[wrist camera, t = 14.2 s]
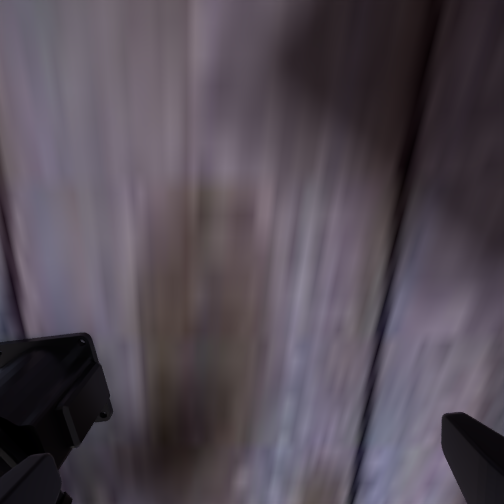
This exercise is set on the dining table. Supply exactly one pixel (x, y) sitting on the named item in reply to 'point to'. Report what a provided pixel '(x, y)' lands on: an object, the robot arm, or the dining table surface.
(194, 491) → the dining table surface
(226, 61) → the dining table surface
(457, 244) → the dining table surface
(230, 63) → the dining table surface
